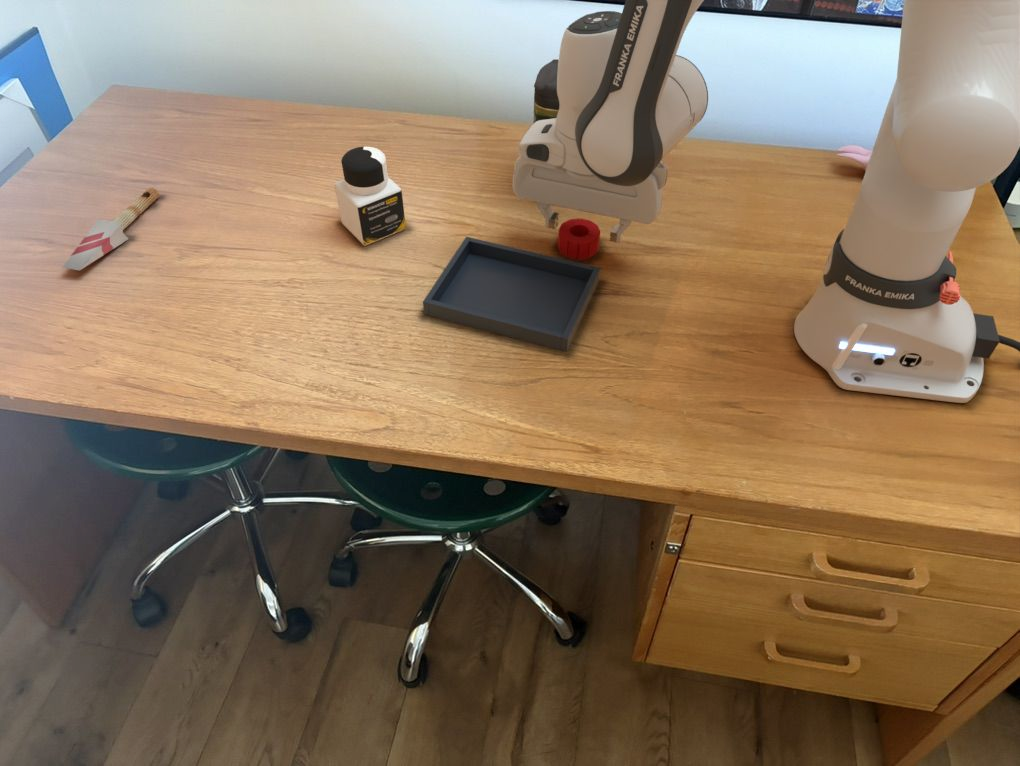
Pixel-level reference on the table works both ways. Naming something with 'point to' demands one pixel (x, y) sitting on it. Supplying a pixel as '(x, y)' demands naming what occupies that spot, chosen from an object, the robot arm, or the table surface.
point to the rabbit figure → (856, 154)
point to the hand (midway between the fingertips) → (583, 233)
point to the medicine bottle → (369, 196)
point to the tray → (513, 293)
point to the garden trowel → (108, 233)
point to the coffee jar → (546, 92)
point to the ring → (578, 238)
